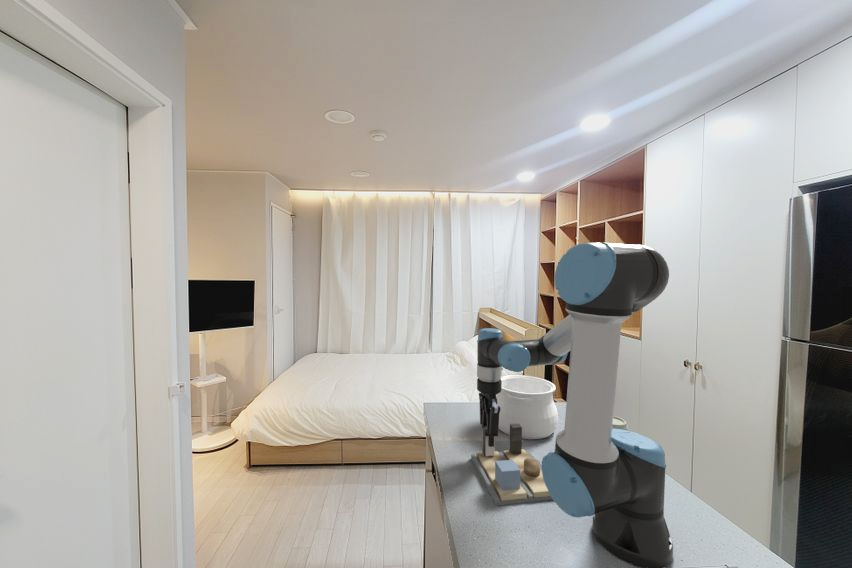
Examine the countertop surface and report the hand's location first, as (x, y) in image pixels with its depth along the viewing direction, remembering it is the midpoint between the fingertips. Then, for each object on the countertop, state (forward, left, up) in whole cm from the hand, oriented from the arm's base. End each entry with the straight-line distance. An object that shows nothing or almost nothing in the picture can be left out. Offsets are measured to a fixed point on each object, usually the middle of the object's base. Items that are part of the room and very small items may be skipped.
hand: (488, 452), depth 107 cm
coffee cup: (-3, -40, -3) cm, 41 cm away
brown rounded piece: (-11, -9, -1) cm, 14 cm away
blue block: (-15, 0, -1) cm, 15 cm away
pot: (+21, -22, -3) cm, 30 cm away
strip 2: (-9, -9, -3) cm, 13 cm away
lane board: (-9, -4, -3) cm, 11 cm away
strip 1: (-9, 0, -3) cm, 10 cm away
